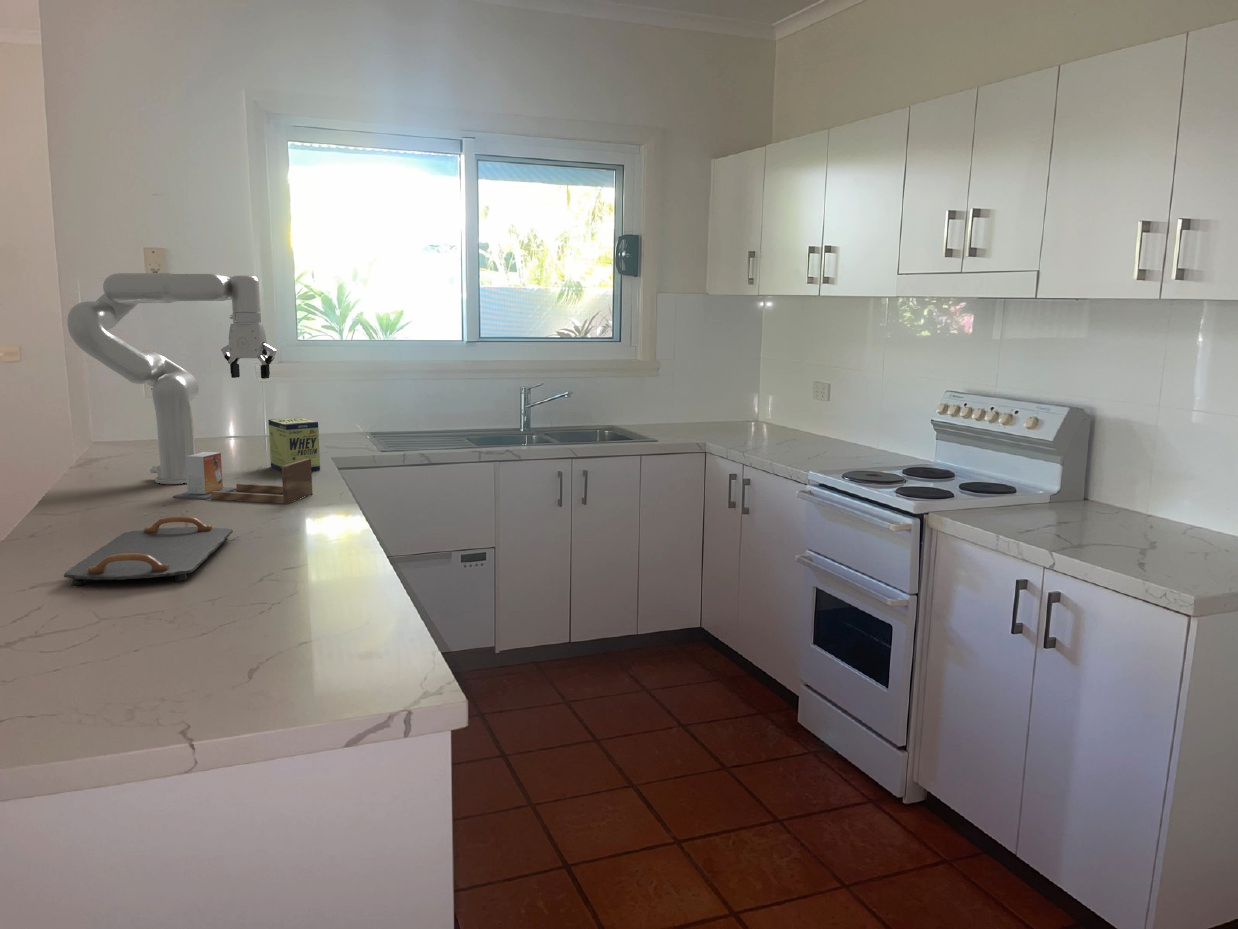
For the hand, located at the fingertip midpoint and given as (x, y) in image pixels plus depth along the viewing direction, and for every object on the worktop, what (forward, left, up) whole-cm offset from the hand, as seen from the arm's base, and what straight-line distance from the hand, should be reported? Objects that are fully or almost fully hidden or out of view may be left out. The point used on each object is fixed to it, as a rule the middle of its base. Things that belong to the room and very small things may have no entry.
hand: (250, 377), depth 268 cm
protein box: (+1, +19, -31) cm, 36 cm away
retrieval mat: (-1, -22, -30) cm, 37 cm away
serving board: (+32, -83, -31) cm, 95 cm away
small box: (-1, -22, -30) cm, 37 cm away
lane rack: (+16, -22, -30) cm, 41 cm away
